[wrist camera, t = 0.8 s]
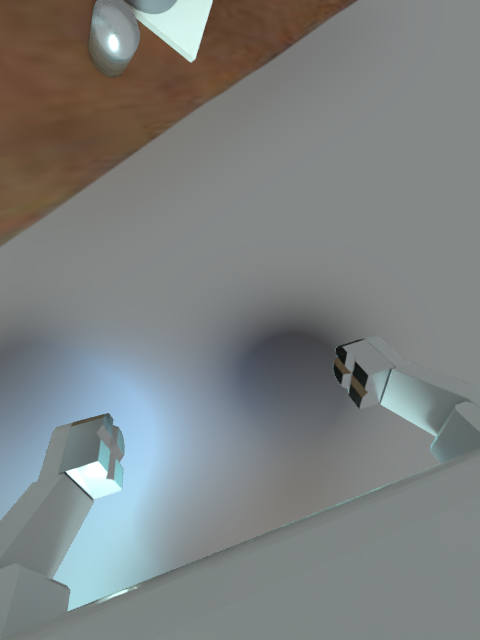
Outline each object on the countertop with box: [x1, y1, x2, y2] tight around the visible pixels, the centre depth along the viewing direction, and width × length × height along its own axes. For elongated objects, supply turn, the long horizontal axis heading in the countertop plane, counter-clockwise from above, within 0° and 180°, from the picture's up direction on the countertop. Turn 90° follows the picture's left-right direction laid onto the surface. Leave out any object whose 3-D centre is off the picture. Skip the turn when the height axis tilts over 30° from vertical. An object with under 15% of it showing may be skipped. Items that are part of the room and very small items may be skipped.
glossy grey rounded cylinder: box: [88, 0, 140, 78], centre depth 29 cm, size 4×4×8 cm
